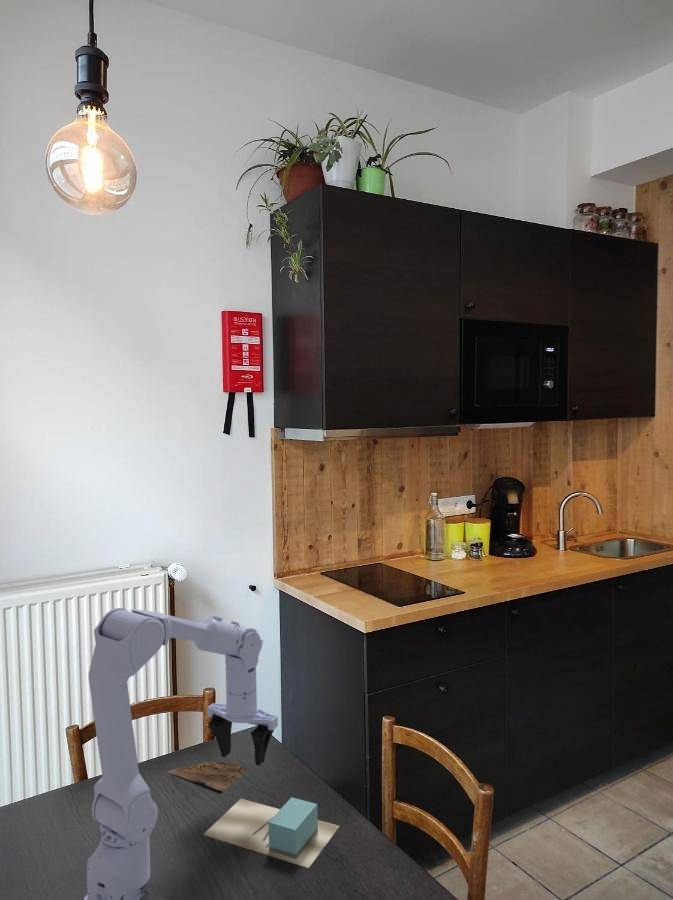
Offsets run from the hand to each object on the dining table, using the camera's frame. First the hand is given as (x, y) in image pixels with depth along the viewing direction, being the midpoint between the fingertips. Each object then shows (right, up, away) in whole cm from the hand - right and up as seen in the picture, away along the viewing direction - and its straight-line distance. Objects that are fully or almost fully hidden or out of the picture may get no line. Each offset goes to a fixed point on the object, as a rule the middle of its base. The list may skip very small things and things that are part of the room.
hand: (242, 758), depth 127 cm
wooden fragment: (-5, -10, +12) cm, 16 cm away
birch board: (+6, -10, -8) cm, 15 cm away
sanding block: (+10, -9, -11) cm, 18 cm away
